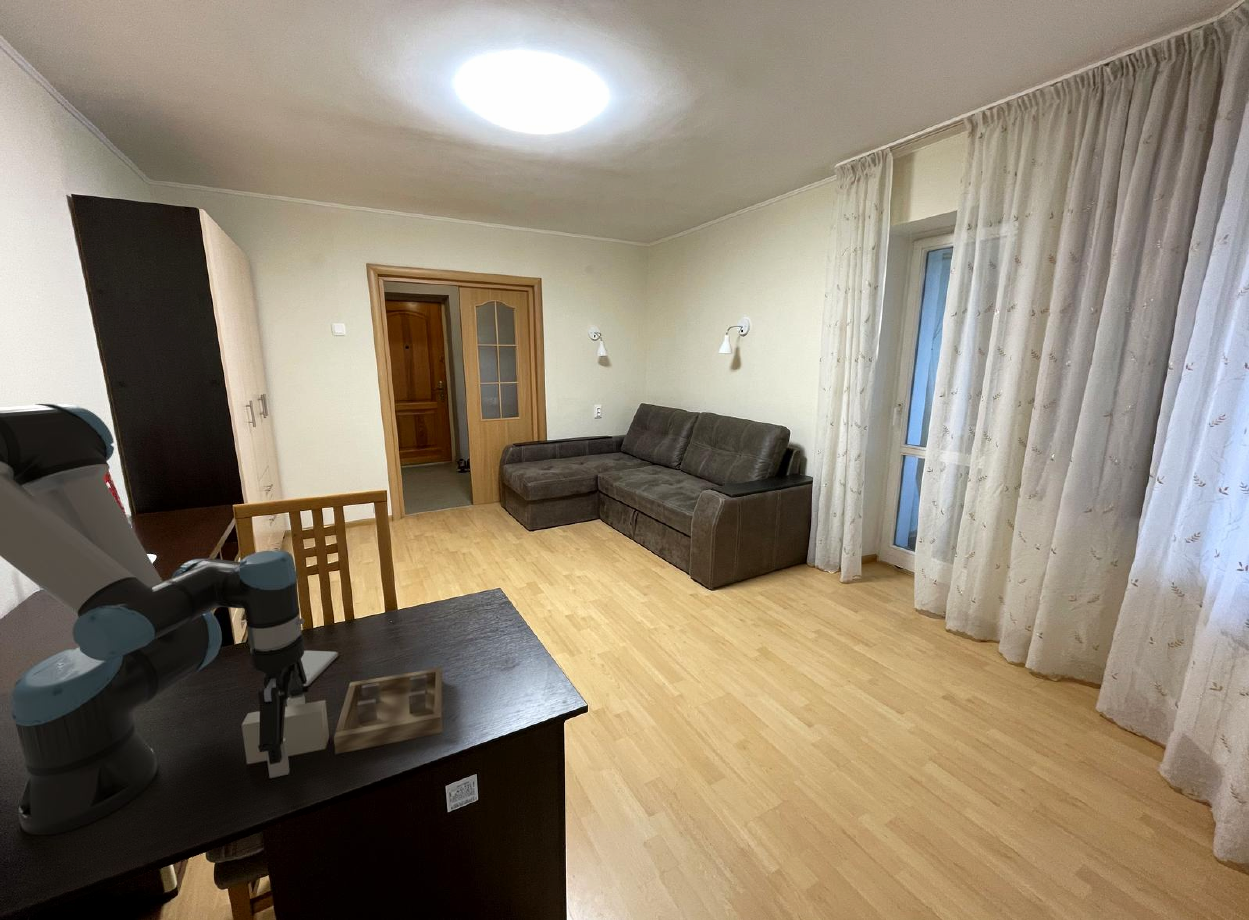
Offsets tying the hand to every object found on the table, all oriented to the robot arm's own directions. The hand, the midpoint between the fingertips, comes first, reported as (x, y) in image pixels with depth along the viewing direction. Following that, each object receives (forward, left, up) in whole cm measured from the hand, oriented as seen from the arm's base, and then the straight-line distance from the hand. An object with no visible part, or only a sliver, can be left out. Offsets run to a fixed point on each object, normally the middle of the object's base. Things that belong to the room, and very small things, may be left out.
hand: (289, 749), depth 90 cm
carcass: (+17, +5, 0) cm, 17 cm away
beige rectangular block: (0, 0, 0) cm, 0 cm away
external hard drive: (-4, +25, -1) cm, 26 cm away
